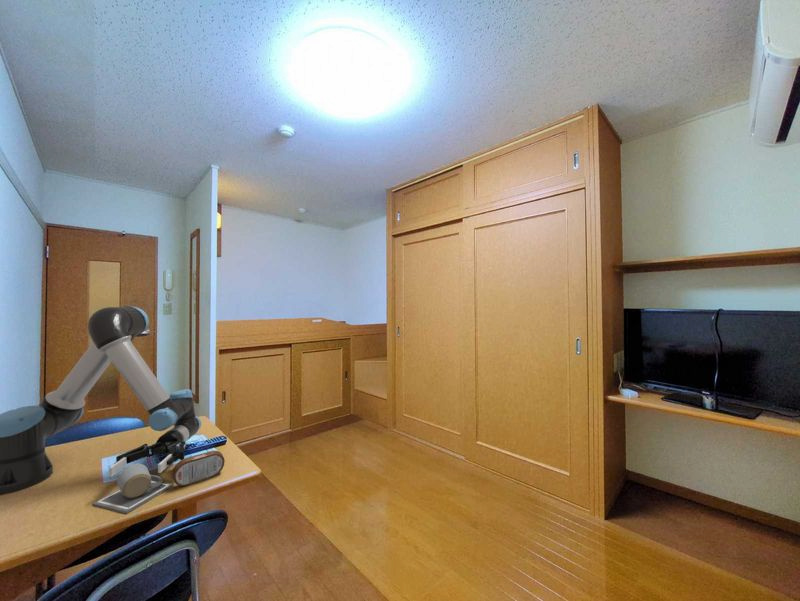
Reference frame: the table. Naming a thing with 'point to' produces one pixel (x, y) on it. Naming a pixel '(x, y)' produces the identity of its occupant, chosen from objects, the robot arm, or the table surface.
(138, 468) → the ceramic mug
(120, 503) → the card
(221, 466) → the tin
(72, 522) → the table surface
